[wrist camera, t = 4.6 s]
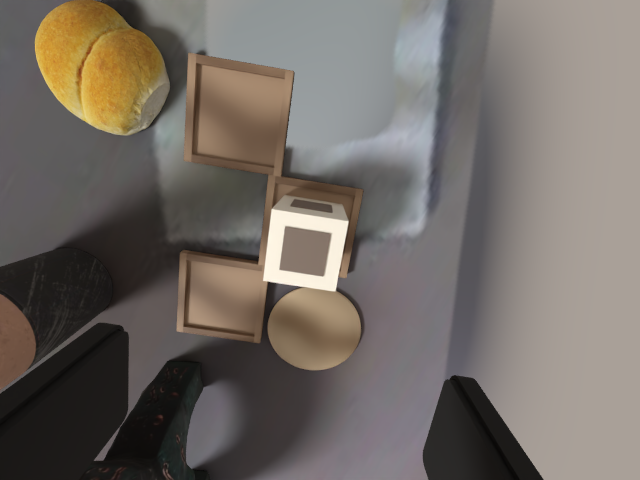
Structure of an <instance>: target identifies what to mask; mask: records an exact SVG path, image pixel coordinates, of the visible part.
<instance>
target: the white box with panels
mask: <svg viewBox="0 0 640 480" xmlns="http://www.w3.org/2000/svg"><path fill="white" fill-rule="evenodd" d="M348 222H349V221H348V218H347V216H346V213H345V210H344V207H343V205H342V204H338V203H332V202H326V201H319V200H313V199H307V198H301V197H295V196H289V195H284V196H283V197H282V198H281V199H280V201H279V202H278V203H277V204H276V205H275V206H274V207H273V208H272V210H271V219H270V227H269V235H268V244H267V252H266V260H265V269H264V277H263V281H268V282H275V283H281V284H288V285H294V286H301V287H307V288H314V289H321V290H327V291H334V292H335V291H336V286H337V280H338V275H339V270H340V264H341V259H342V254H343V249H344V243H345V238H346V233H347V227H348Z"/></svg>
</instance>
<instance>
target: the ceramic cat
mask: <svg viewBox="0 0 640 480" xmlns="http://www.w3.org/2000/svg"><path fill="white" fill-rule="evenodd" d="M202 390H203V383H202V380H201V364H200V363H197V362H175V361H167V362H166V364H165V365H164V367H163V368H162V369H161V371H160V372H159V373H158V375H157V376H156V377H155V379H154V380H153V381H152V382H151V383H150V384H149V385H148V386H147V388H146V389H145V390H144V391H143V392H142V394H141V396H140V398H139V400H138V402H137V404H136V405H135V407H134V409H133V410H132V411H131V412H130V414H129V416H128V417H127V419H126V420H125V422H124V423H123V425H122V426H121V427H120V430H119V432H118V434H117V436H116V438H115V440H114V442H113V444H112V446H111V448H110V449H109V451H108V453H107V455H106V457H105V459H104V460H103V461H93V462H92V463H91V464H90V466H89V467H88V468H87V470H86V471H85V472H84V474H83V475H82V476H81V477H80V479H79V480H210V479H209V474H208V472H207V471H196V470H192V469H191V468H190V467H189V466H188V465H187V463H186V443H187V434H188V428H189V423H190V419H191V415H192V412H193V409H194V407H195V404H196V402H197V400H198V398H199V396H200V394H201V393H202Z"/></svg>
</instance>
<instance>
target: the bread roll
mask: <svg viewBox="0 0 640 480" xmlns="http://www.w3.org/2000/svg"><path fill="white" fill-rule="evenodd" d="M35 52H36V58H37V61H38V64H39V67H40V70H41V72H42V74H43V77H44V79H45V81H46V83H47V84H48V86H49V88H50V89H51V91H52V92H53V94H54V95H55V96H56V98H57V99H58V100H59V101H60V102H61V103H62V104H63V105H64V106H65V107H66V108H67V109H68V110H69V111H70V112H72V113H73V114H75V115H76V116H77V117H79V118H80V119H82V120H84V121H86V122H87V123H89V124H90V125H92V126H94V127H96V128H97V129H100V130H103V131H106V132H109V133H113V134H117V135H131V134H134V133H137V132H139V131H141V130H143V129H146V128H147V127H149V125H150V124H151V123H152V121H153V120H154V118H155V117H156V116H157V115H158V114H159V112H160V110H161V109H162V107H163V105H164V103H165V100H166V98H167V96H168V93H169V91H170V82H169V78H168V75H167V72H166V67H165V63H164V60H163V57H162V55H161V53H160V51H159V50H158V49H157V47H156V46H155V44H154V43H153V41H152V40H151V39H150V38H149V37H148V36H146V35H145V34H144V33H143V32H141V31H138V30H136V29H133V28H132V27H131V26H129V25H128V24H127V22H126V21H125V20H124V19H123V18H122V17H121V16H120V15H119V14H118V13H117V12H116V11H115V10H114V9H113V8H111V7H110V6H108V5H106V4H104V3H101V2H98V1H93V0H75V1H69V2H66V3H64V4H62V5H60V6H58V7H57V8H55V9H54V10H52V11H51V12H50V13H49V14H48V15H47V16H46V17H45V18H44V20H43V21H42V23H41V25H40V27H39V29H38V31H37V34H36V39H35Z"/></svg>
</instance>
